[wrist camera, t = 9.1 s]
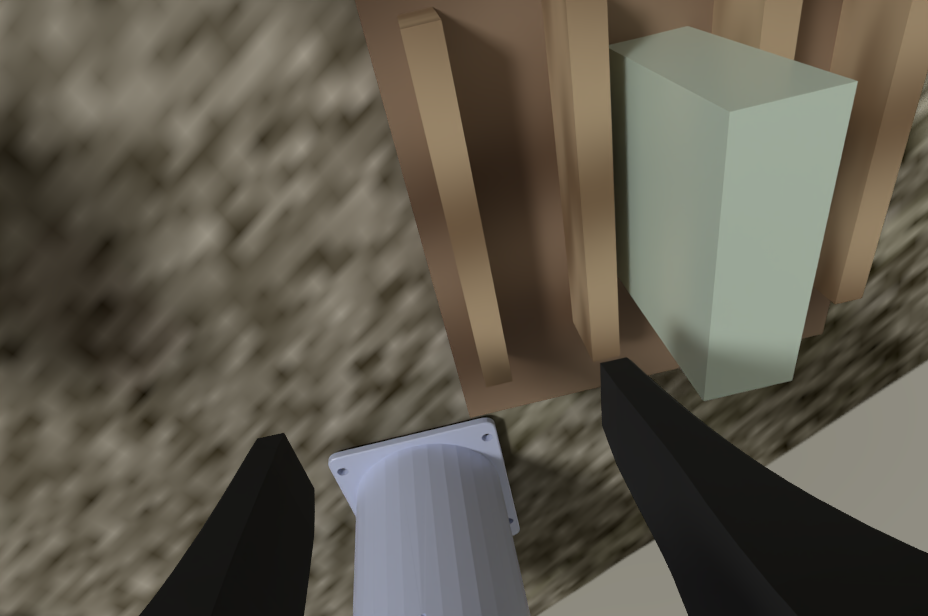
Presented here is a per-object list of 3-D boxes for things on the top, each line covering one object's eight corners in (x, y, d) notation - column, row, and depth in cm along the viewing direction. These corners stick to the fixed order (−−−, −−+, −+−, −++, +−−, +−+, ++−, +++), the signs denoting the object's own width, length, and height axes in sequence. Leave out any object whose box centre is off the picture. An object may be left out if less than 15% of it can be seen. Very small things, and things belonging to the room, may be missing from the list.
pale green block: (678, 255, 21) (792, 380, 15) (613, 270, 21) (703, 401, 15) (687, 25, 16) (858, 80, 10) (604, 46, 16) (730, 111, 10)
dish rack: (807, 320, 25) (863, 371, 22) (467, 401, 25) (478, 462, 22) (949, -316, 13) (1105, -382, 11) (312, -160, 13) (296, -183, 11)
